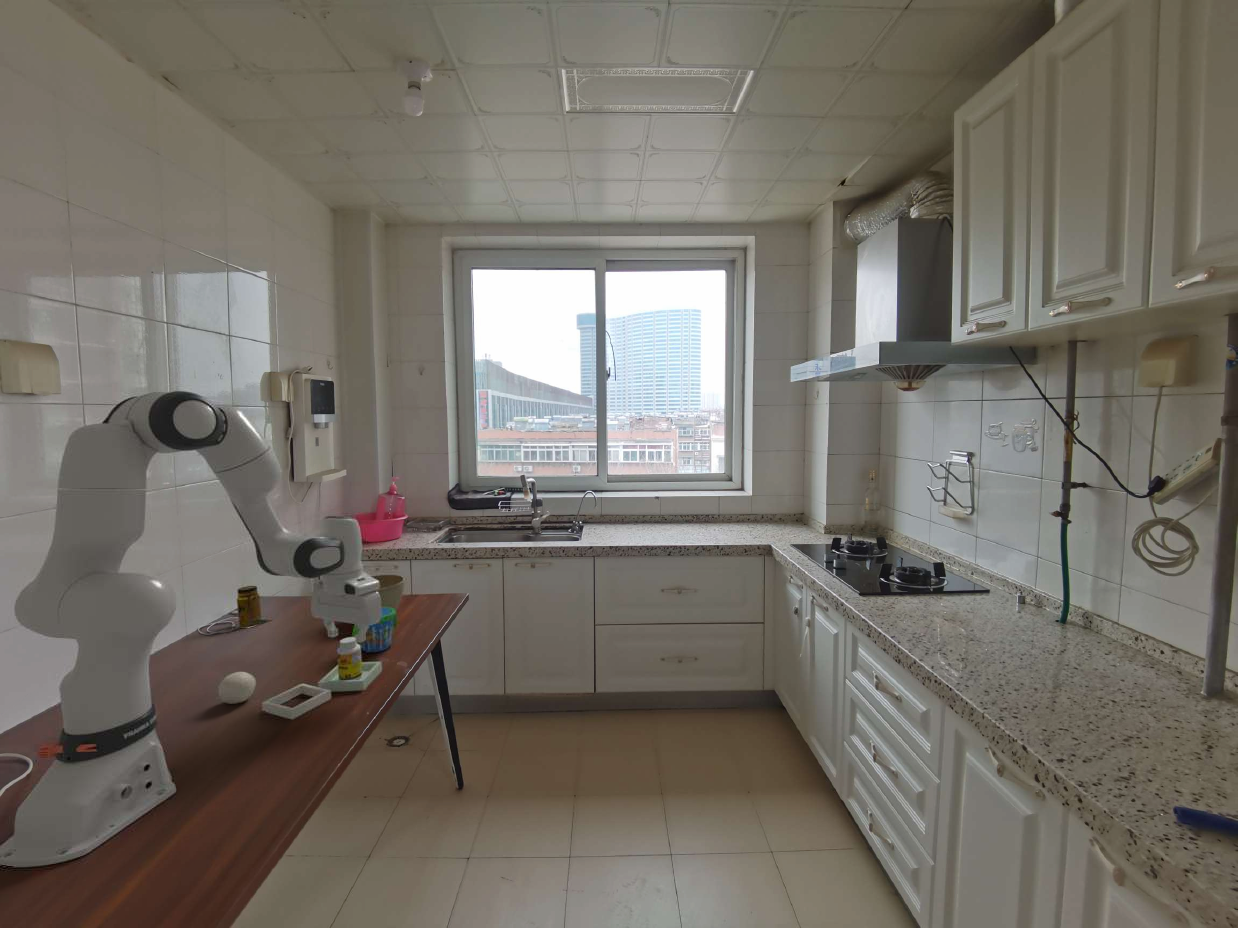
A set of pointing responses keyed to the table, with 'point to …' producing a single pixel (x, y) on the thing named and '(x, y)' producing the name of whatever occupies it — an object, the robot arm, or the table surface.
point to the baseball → (236, 687)
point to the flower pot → (390, 590)
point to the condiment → (249, 607)
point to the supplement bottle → (349, 659)
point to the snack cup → (379, 632)
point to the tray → (335, 685)
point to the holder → (318, 698)
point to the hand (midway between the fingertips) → (346, 638)
